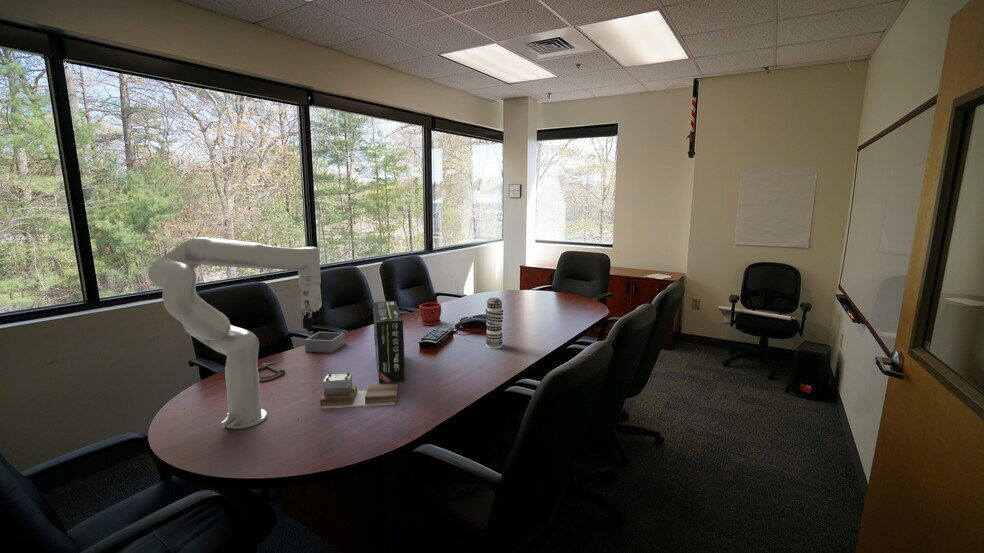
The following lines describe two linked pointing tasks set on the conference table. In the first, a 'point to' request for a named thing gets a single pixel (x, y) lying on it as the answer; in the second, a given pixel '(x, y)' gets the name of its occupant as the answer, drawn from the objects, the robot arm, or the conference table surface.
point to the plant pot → (430, 313)
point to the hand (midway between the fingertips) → (311, 325)
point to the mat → (358, 401)
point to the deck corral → (324, 342)
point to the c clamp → (265, 366)
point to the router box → (389, 342)
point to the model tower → (494, 323)
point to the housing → (338, 384)
